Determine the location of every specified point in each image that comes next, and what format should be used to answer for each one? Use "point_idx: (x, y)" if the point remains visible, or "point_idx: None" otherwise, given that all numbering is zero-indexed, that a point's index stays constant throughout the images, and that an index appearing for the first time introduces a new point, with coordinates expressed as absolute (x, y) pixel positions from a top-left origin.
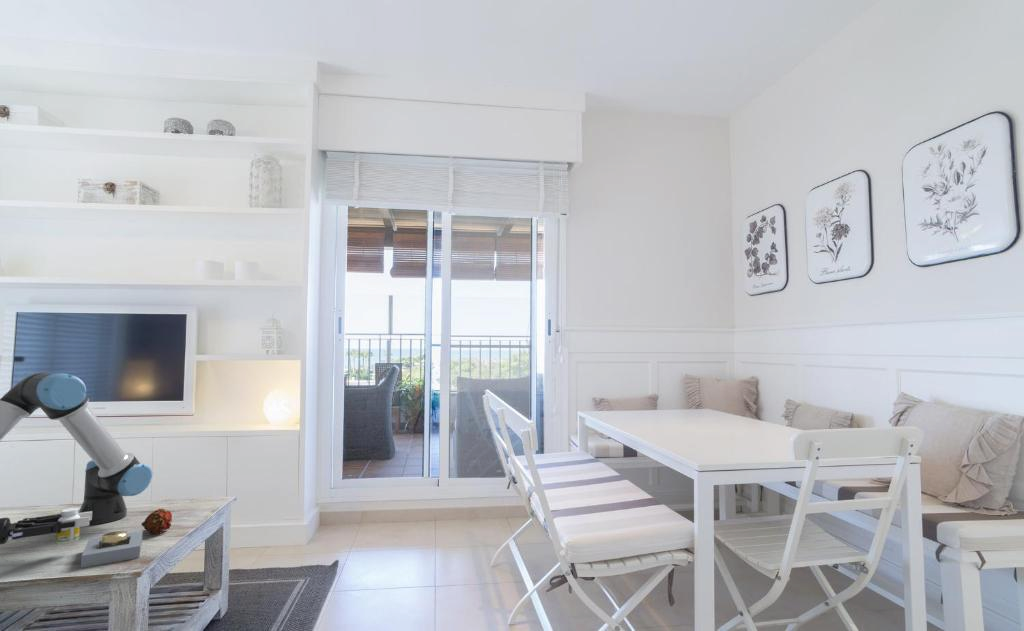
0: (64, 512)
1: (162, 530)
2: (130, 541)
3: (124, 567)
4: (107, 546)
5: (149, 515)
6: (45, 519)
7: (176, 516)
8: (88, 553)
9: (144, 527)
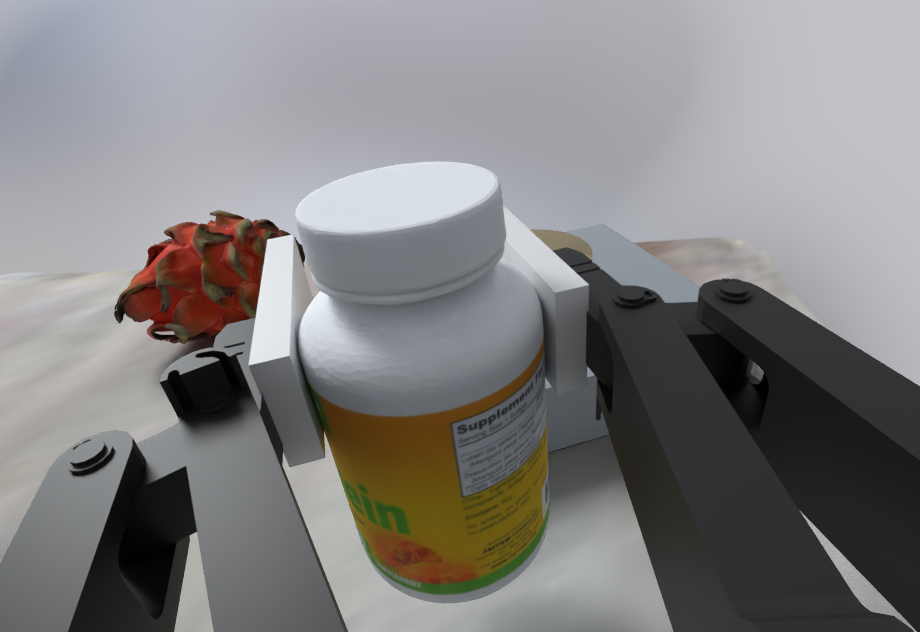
0: (501, 199)
1: None
2: None
3: (717, 270)
4: None
5: (173, 274)
6: (323, 592)
7: (14, 343)
8: None
9: None
